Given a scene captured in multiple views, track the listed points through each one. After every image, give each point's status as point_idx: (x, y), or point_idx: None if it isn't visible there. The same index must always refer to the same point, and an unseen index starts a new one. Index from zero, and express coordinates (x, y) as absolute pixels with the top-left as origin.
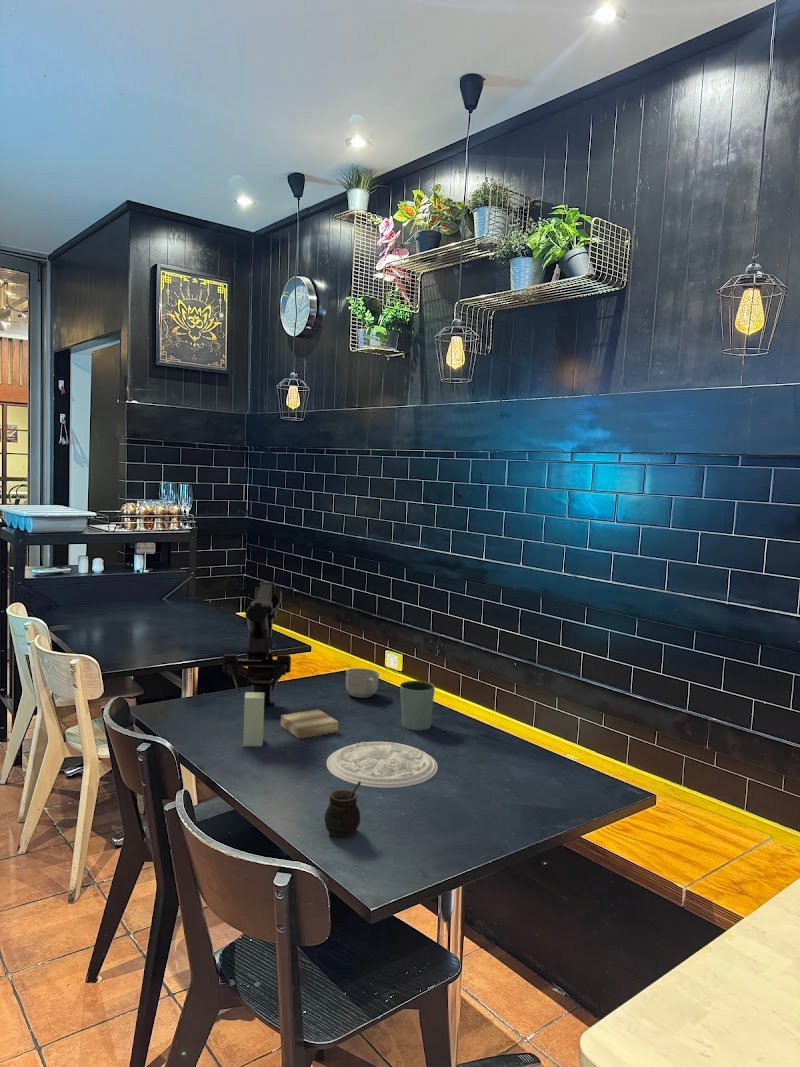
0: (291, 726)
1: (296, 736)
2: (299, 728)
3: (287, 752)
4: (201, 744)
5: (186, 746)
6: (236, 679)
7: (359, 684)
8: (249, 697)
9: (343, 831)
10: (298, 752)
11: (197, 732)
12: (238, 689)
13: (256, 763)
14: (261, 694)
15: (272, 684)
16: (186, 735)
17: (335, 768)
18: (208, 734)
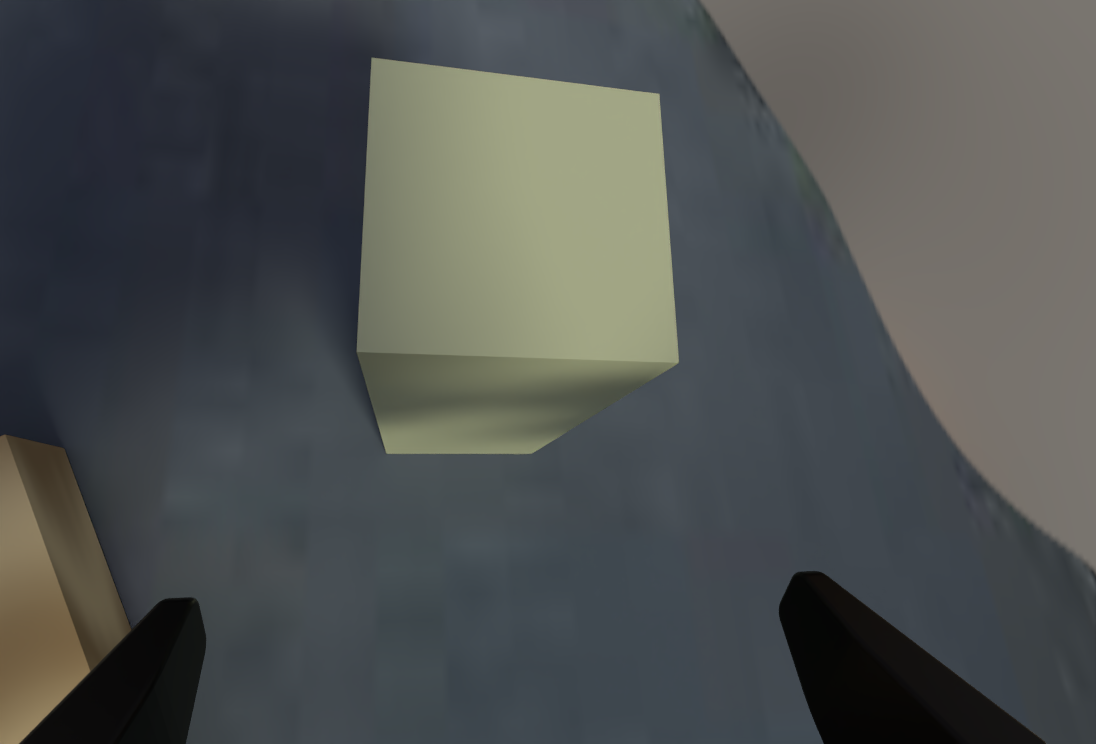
0: (88, 604)
1: (79, 497)
2: (5, 436)
3: (206, 183)
4: (792, 370)
5: (867, 343)
6: (987, 714)
7: None
8: (592, 106)
9: None
10: (117, 173)
11: (868, 602)
12: (807, 572)
13: (429, 45)
14: (412, 229)
15: (140, 682)
16: (918, 539)
17: None
18: (789, 560)
